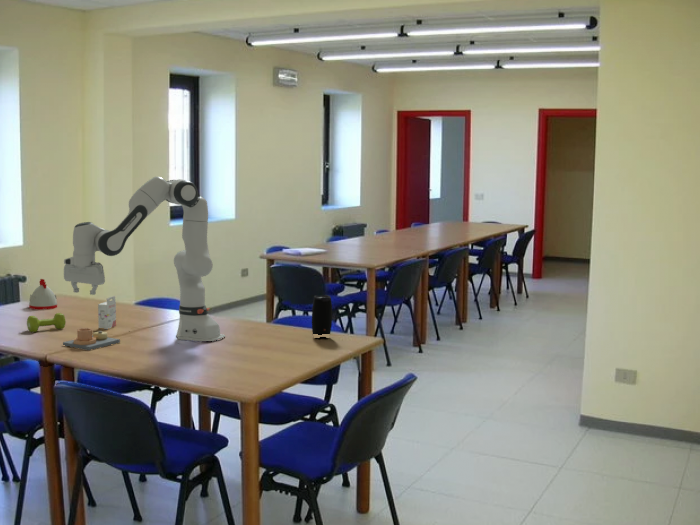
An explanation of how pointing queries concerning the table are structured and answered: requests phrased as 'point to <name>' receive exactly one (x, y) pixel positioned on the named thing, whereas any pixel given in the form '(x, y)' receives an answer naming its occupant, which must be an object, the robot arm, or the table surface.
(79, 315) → the table surface
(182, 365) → the table surface
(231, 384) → the table surface
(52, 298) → the white and red dome
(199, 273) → the robot arm
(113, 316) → the ink cartridge box
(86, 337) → the octagonal tube stub
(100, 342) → the carrier plate
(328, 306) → the portable speaker
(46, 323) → the dumbbell
